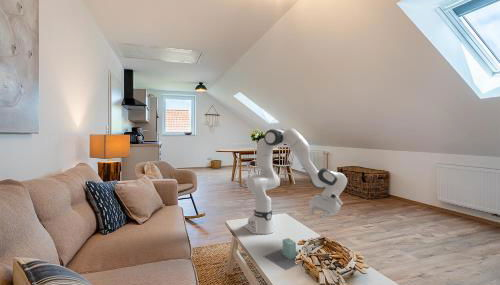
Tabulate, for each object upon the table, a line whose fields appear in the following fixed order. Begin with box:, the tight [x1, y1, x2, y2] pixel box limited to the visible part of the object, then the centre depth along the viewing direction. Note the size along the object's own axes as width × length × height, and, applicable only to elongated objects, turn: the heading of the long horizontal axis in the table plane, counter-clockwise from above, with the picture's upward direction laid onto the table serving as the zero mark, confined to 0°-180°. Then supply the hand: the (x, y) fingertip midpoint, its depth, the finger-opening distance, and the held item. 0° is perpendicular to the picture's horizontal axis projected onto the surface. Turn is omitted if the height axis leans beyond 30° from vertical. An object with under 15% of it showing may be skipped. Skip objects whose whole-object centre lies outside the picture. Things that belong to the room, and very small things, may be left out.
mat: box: [263, 248, 299, 271], centre depth 130 cm, size 17×18×1 cm
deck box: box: [282, 237, 297, 259], centre depth 132 cm, size 6×4×8 cm, turn 27°
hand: (316, 215), depth 140 cm, fingers open, 7 cm apart
